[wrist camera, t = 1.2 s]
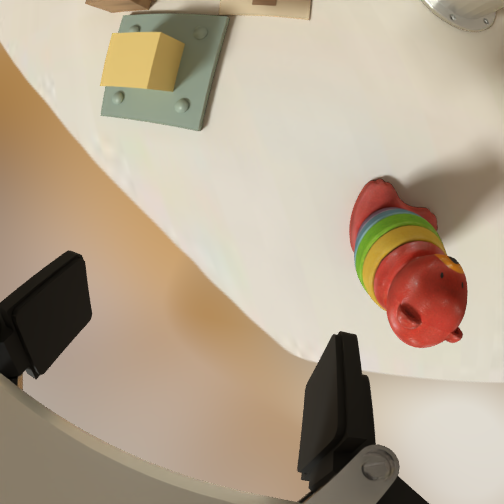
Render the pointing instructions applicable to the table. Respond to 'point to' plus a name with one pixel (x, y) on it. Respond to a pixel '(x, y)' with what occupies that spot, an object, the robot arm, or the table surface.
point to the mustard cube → (142, 61)
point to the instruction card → (266, 8)
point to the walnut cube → (120, 5)
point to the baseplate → (188, 77)
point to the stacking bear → (407, 267)
